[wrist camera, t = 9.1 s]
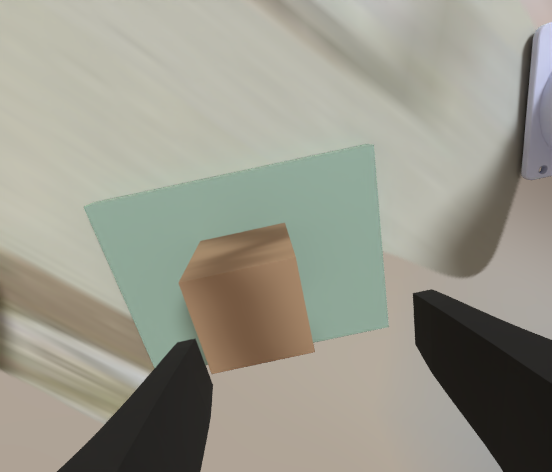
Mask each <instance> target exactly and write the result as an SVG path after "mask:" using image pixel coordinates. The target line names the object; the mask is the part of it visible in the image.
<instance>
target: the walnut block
mask: <svg viewBox="0 0 552 472" xmlns="http://www.w3.org/2000/svg"><path fill="white" fill-rule="evenodd" d="M179 286H180V289H181V292H182V294H183V297H184V300H185V302H186V305H187V308H188V311H189V313H190V316H191V319H192V322H193V324H194V327H195V330H196V332H197V335H198V338H199V341H200V343H201V346H202V349H203V352H204V354H205V357H206V360H207V362H208V365H209V368H210V371H211V373H212V374H214V373H219V372H223V371H228V370H233V369H238V368H242V367H247V366H252V365H256V364H261V363H266V362H271V361H275V360H280V359H285V358H289V357H294V356H299V355H303V354H308V353H313V352H315V350H314V345H313V340H312V335H311V330H310V325H309V320H308V315H307V310H306V305H305V300H304V295H303V290H302V285H301V281H300V276H299V271H298V266H297V261H296V256H295V253H294V250H293V247H292V244H291V240H290V237H289V234H288V231H287V228H286V225H285V223H280V224H276V225H271V226H267V227H262V228H258V229H253V230H248V231H244V232H239V233H235V234H230V235H225V236H221V237H216V238H212V239H207V240H202V241H200V242H199V244H198V246H197V248H196V250H195V252H194V254H193V256H192V258H191V260H190V262H189V263H188V265H187V267H186V269H185V271H184V273H183V275H182V277H181V279H180V281H179Z"/></svg>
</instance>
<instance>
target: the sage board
mask: <svg viewBox="0 0 552 472" xmlns="http://www.w3.org/2000/svg"><path fill="white" fill-rule="evenodd" d="M84 209H85V211H86V213H87V216H88V218H89V220H90V223H91V225H92V227H93V229H94V232H95V234H96V236H97V238H98V241H99V243H100V245H101V247H102V250H103V252H104V254H105V257H106V259H107V261H108V263H109V266H110V268H111V270H112V272H113V275H114V277H115V279H116V281H117V284H118V286H119V288H120V291H121V293H122V295H123V297H124V300H125V302H126V304H127V306H128V309H129V311H130V313H131V315H132V318H133V320H134V322H135V325H136V327H137V329H138V331H139V334H140V336H141V338H142V340H143V343H144V345H145V347H146V349H147V352H148V354H149V356H150V359H151V361H152V363H153V365H154V368H155V367H156V366H157V365H158V364H159V363H160V362H161V360H162V359H163V358H164V357H165V356H166V354H167V353H168V352H169V351H170V350H171V349H172V348H173V346H174V345H175V344H176V343H177V342H181V341H186V340H190V339H195V338H196V341H197V344H198V347H199V349H200V352H201V355H202V357H203V360H204V363H205V365H208V362H207V360H206V357H205V354H204V352H203V349H202V346H201V343H200V341H199V338H198V335H197V332H196V330H195V327H194V324H193V322H192V319H191V316H190V313H189V311H188V308H187V305H186V302H185V300H184V297H183V294H182V292H181V289H180V286H179V281H180V279H181V277H182V275H183V273H184V271H185V269H186V267H187V265H188V263H189V262H190V260H191V258H192V256H193V254H194V252H195V250H196V248H197V246H198V244H199V242H200V241H202V240H207V239H212V238H216V237H221V236H225V235H230V234H235V233H239V232H244V231H248V230H253V229H258V228H262V227H267V226H271V225H276V224H280V223H285V225H286V228H287V231H288V234H289V237H290V240H291V244H292V247H293V250H294V253H295V256H296V261H297V266H298V271H299V276H300V281H301V285H302V290H303V295H304V300H305V305H306V310H307V315H308V320H309V325H310V330H311V335H312V340H313V343H314V342H319V341H324V340H328V339H333V338H338V337H343V336H348V335H352V334H357V333H362V332H367V331H371V330H376V329H381V328H386V327H389V325H388V314H387V300H386V289H385V277H384V265H383V252H382V240H381V228H380V216H379V204H378V192H377V180H376V167H375V155H374V145H372V144H365V145H360V146H355V147H351V148H346V149H341V150H337V151H332V152H327V153H323V154H318V155H313V156H309V157H304V158H299V159H295V160H290V161H285V162H281V163H276V164H271V165H267V166H262V167H257V168H253V169H248V170H243V171H239V172H234V173H229V174H225V175H220V176H215V177H211V178H206V179H201V180H197V181H192V182H187V183H182V184H178V185H173V186H168V187H164V188H159V189H154V190H150V191H145V192H140V193H136V194H131V195H126V196H122V197H117V198H112V199H108V200H103V201H98V202H94V203H91V204H89V205H86V206H84Z"/></svg>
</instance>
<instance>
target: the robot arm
mask: <svg viewBox="0 0 552 472" xmlns="http://www.w3.org/2000/svg"><path fill="white" fill-rule="evenodd" d="M540 167H541V171H540V172H539V169H540ZM521 174H522V177H523V178H525V179H528V180H535V179H540V178H544V177H549V176H552V22H551V23H547V24H545V25H542V26H540V27H539V28H538V29H537V30H536V32H535V33H534V37H533V45H532V56H531V68H530V79H529V91H528V102H527V114H526V125H525V137H524V148H523V160H522V171H521ZM413 303H414V304H413V305H414V324H415V344H416V346H417V348H418V350H419V351H420V353H421V355H422V357H423V359H424V360H425V362H426V364H427V365H428V367H429V369H430V370H431V372H432V374H433V375H434V377H435V378H436V379H437V381H438V382H439V383H440V385H441V386H442V388H443V389H444V390H445V392H446V393H447V394H448V396H449V397H450V398H451V400H452V401H453V402H454V404H455V405H456V406H457V408H458V409H459V411H460V412H461V413H462V414H463V416H464V417H465V418H466V420H467V421H468V422H469V424H470V425H471V427H472V428H473V429H474V431H475V432H476V433H477V435H478V436H479V437H480V439H481V440H482V441H483V443H484V444H485V445H486V447H487V448H488V450H489V451H490V453H491V454H492V456H493V457H494V458H495V460H496V461H497V463H498V464H499V466H500V467H501V469H502V470H503V472H552V340H550V339H548V338H545V337H543V336H540V335H537V334H535V333H532V332H529V331H527V330H525V329H522V328H520V327H517V326H515V325H512V324H510V323H508V322H505V321H503V320H500V319H498V318H496V317H493V316H491V315H489V314H487V313H484V312H482V311H480V310H478V309H476V308H473V307H471V306H469V305H467V304H464V303H462V302H460V301H458V300H456V299H453V298H451V297H449V296H446V295H444V294H442V293H439V292H437V291H434V290H427V291H422V292H418V293H413ZM212 390H213V384H212V382H211V379H210V376H209V374H208V371H207V368H206V365H205V363H204V360H203V357H202V355H201V352H200V349H199V347H198V344H197V341H196V338H195V339H190V340H186V341H181V342H177V343H176V344H175V345H174V346H173V348H172V349H171V350H170V351H169V352H168V353H167V354H166V356H165V357H164V358H163V359H162V360H161V362H160V363H159V364H158V365H157V366H156V367H155V369H154V370H153V371H152V372H151V373H150V375H149V376H148V377H147V378H146V379H145V380H144V382H143V383H142V384H141V385H140V386H139V387H138V389H137V390H136V391H135V392H134V393H133V394H132V395H131V397H130V398H129V399H128V400H127V401H126V402H125V403H124V404H123V405H122V406H121V407H120V409H119V410H118V411H117V412H116V413H115V414H114V415H113V416H112V417H111V418H110V419H109V420H108V422H107V423H106V424H105V425H104V426H103V427H102V428H101V429H100V430H99V431H98V432H97V433H96V434H95V436H93V437H92V438H91V440H89V441H88V443H86V444H85V445H84V447H82V449H80V450H79V451H78V452H77V453H76V454H75V455H74V456H73V457H72V458H71V459H70V460H69V461H68V462H67V463H66V464H65V465H64V466H63V467H61V468H60V469H59V470H58V471H57V472H200V470H201V465H202V460H203V455H204V450H205V445H206V440H207V434H208V429H209V423H210V417H211V406H212Z"/></svg>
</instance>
